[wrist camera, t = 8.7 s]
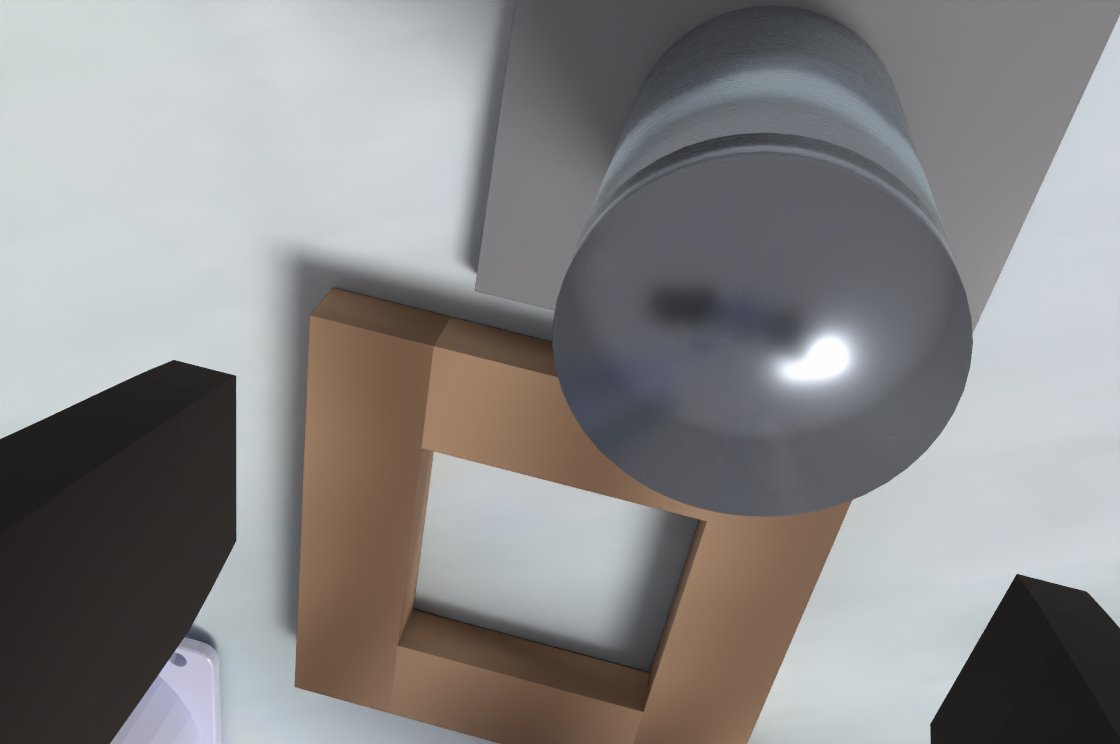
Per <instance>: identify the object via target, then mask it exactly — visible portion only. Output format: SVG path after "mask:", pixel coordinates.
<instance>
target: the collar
mask: <svg viewBox="0 0 1120 744" xmlns="http://www.w3.org/2000/svg"><path fill="white" fill-rule="evenodd" d="M434 451H435V452H439V453H443V454H446V455H450V456H454V457H458V458H462V459H466V460H470V461H474V462H478V463H481V464H485V465H489V466H493V467H497V468H501V469H505V470H509V471H513V472H517V473H520V474H524V475H528V476H532V477H536V478H540V479H544V480H548V481H552V482H555V483H559V484H563V485H567V486H571V487H575V488H579V489H583V490H587V491H591V492H594V493H598V494H602V495H606V496H610V497H614V498H618V499H622V500H626V501H630V502H633V503H637V504H641V505H645V506H649V507H653V508H657V509H661V510H665V511H668V512H672V513H676V514H680V515H684V516H688V517H692V518H696V519H699V522H698V525H697V528H696V532H695V535H694V538H693V541H692V544H691V547H690V550H689V553H688V556H687V559H686V562H685V565H684V568H683V571H682V574H681V577H680V580H679V584H678V587H677V590H676V593H675V596H674V599H673V602H672V605H671V608H670V611H669V614H668V617H667V620H666V623H665V626H664V629H663V632H662V636H661V639H660V642H659V645H658V648H657V651H656V654H655V657H654V660H653V663H652V666H651V669H650V672H649V673H647V672H644V671H640V670H636V669H633V668H629V667H625V666H621V665H618V664H614V663H610V662H606V661H603V660H599V659H595V658H591V657H588V656H584V655H580V654H577V653H573V652H569V651H565V650H562V649H558V648H554V647H550V646H547V645H543V644H539V643H535V642H532V641H528V640H524V639H520V638H517V637H513V636H509V635H506V634H502V633H498V632H494V631H491V630H487V629H483V628H479V627H476V626H472V625H468V624H464V623H461V622H457V621H453V620H450V619H446V618H442V617H438V616H435V615H431V614H427V613H423V612H420V611H416V610H413V607H414V599H415V591H416V584H417V576H418V568H419V560H420V553H421V545H422V537H423V530H424V522H425V514H426V506H427V499H428V491H429V483H430V475H431V468H432V460H433V452H434ZM851 501H852V500H850V501H848V502H845V503H843V504H840V505H836V506H833V507H829V508H826V509H822V510H819V511H813V512H808V513H802V514H797V515H787V516H773V517H757V516H739V515H731V514H724V513H718V512H713V511H709V510H705V509H700V508H696V507H693V506H690V505H687V504H684V503H682V502H679V501H676V500H673V499H671V498H669V497H667V496H664V495H662V494H660V493H658V492H656V491H654V490H652V489H650V488H648V487H647V486H645V485H643V484H642V483H640V482H638V481H637V480H635V479H633V478H632V477H630V476H629V475H628V474H626V473H625V472H624V471H623V470H621V469H620V468H619V467H617V466H616V465H615V464H613V463H612V462H611V461H610V460H609V459H608V458H607V457H606V456H605V455H604V454H603V453H602V452H601V451H600V450H599V449H598V448H597V447H596V446H595V445H594V443H593V442H592V441H591V440H590V438H589V437H588V436H587V435H586V433H585V432H584V431H583V430H582V428H581V426H580V425H579V423H578V421H577V420H576V418H575V417H574V415H573V413H572V412H571V410H570V408H569V405H568V403H567V401H566V399H565V396H564V394H563V392H562V389H561V386H560V382H559V379H558V375H557V372H556V368H555V361H554V353H553V342H550V341H546V340H542V339H538V338H534V337H530V336H526V335H522V334H518V333H514V332H510V331H506V330H502V329H498V328H493V327H489V326H485V325H481V324H477V323H473V322H469V321H465V320H461V319H457V318H453V317H449V316H445V315H441V314H437V313H433V312H429V311H425V310H421V309H417V308H413V307H409V306H405V305H401V304H396V303H392V302H388V301H384V300H380V299H376V298H372V297H368V296H364V295H360V294H356V293H352V292H348V291H344V290H340V289H336V288H332V289H331V291H330V292H329V293H328V294H327V295H326V297H325V298H324V299H323V300H322V301H321V303H320V304H319V305H318V306H317V307H316V309H315V310H314V311H313V312H312V313H311V315H310V324H309V349H308V374H307V398H306V423H305V447H304V472H303V497H302V521H301V546H300V571H299V595H298V620H297V645H296V669H295V687H297V688H300V689H304V690H308V691H311V692H315V693H318V694H322V695H326V696H329V697H333V698H337V699H340V700H344V701H348V702H351V703H355V704H358V705H362V706H366V707H369V708H373V709H377V710H380V711H384V712H388V713H391V714H395V715H398V716H402V717H406V718H409V719H413V720H417V721H420V722H424V723H428V724H431V725H435V726H438V727H442V728H446V729H449V730H453V731H457V732H460V733H464V734H468V735H471V736H475V737H478V738H482V739H486V740H489V741H493V742H497V743H500V744H747V743H748V740H749V738H750V736H751V733H752V731H753V729H754V726H755V724H756V722H757V720H758V717H759V715H760V713H761V710H762V708H763V706H764V703H765V701H766V699H767V696H768V694H769V692H770V689H771V687H772V685H773V682H774V680H775V678H776V675H777V673H778V671H779V668H780V666H781V664H782V661H783V659H784V657H785V655H786V652H787V650H788V648H789V645H790V643H791V641H792V638H793V636H794V634H795V631H796V629H797V627H798V624H799V622H800V620H801V617H802V615H803V613H804V610H805V608H806V606H807V603H808V601H809V599H810V596H811V594H812V592H813V589H814V587H815V585H816V583H817V580H818V578H819V576H820V573H821V571H822V569H823V566H824V564H825V562H826V559H827V557H828V555H829V552H830V550H831V548H832V545H833V543H834V541H835V538H836V536H837V534H838V531H839V529H840V527H841V524H842V522H843V520H844V518H845V515H846V513H847V511H848V508H849V506H850V504H851Z"/></svg>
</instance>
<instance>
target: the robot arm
mask: <svg viewBox="0 0 1120 744" xmlns="http://www.w3.org/2000/svg"><path fill="white" fill-rule="evenodd" d="M235 542H236V376H235V375H231V374H227V373H223V372H219V371H215V370H211V369H207V368H203V367H199V366H195V365H191V364H187V363H183V362H180V361H176V360H173V361H170V362H168V363H165V364H163V365H160V366H158V367H156V368H153V369H151V370H148V371H146V372H144V373H142V374H139V375H137V376H135V377H133V378H131V379H128V380H126V381H124V382H122V383H120V384H118V385H115V386H113V387H111V388H109V389H107V390H105V391H103V392H100V393H98V394H96V395H94V396H92V397H90V398H88V399H86V400H84V401H81V402H79V403H77V404H75V405H73V406H71V407H69V408H67V409H64V410H62V411H60V412H58V413H56V414H54V415H52V416H50V417H48V418H45V419H43V420H41V421H39V422H37V423H35V424H32V425H30V426H28V427H26V428H24V429H22V430H19V431H17V432H15V433H13V434H11V435H8V436H6V437H4V438H2V439H0V744H221V721H220V673H219V657H218V654H217V652H216V651H215V650H214V648H212V647H211V646H210V645H208V644H206V643H204V642H201V641H197V640H194V639H190V638H186V637H185V636H186V634H187V633H188V631H189V629H190V627H191V626H192V624H193V622H194V620H195V618H196V617H197V615H198V613H199V611H200V609H201V607H202V606H203V604H204V602H205V600H206V598H207V596H208V595H209V593H210V591H211V589H212V587H213V585H214V583H215V581H216V579H217V577H218V575H219V573H220V571H221V569H222V568H223V566H224V564H225V562H226V560H227V558H228V556H229V554H230V552H231V550H232V548H233V546H234V544H235ZM930 727H931V744H1120V628H1119V627H1118V626H1117V624H1116V623H1115V622H1114V621H1113V620H1112V619H1111V618H1110V617H1109V615H1108V614H1107V613H1106V612H1105V611H1104V610H1103V609H1102V608H1101V606H1100V605H1099V604H1098V603H1097V602H1096V601H1095V600H1094V599H1093V598H1092V597H1091V596H1090V595H1089V594H1088V593H1087V592H1086V591H1082V590H1078V589H1074V588H1070V587H1066V586H1062V585H1058V584H1054V583H1050V582H1046V581H1042V580H1038V579H1035V578H1031V577H1027V576H1023V575H1019V574H1017V575H1016V576H1015V578H1014V580H1013V582H1012V583H1011V585H1010V587H1009V589H1008V590H1007V592H1006V594H1005V596H1004V597H1003V599H1002V601H1001V602H1000V604H999V606H998V608H997V609H996V611H995V613H994V615H993V616H992V618H991V620H990V622H989V623H988V625H987V627H986V629H985V630H984V632H983V634H982V635H981V637H980V639H979V641H978V642H977V644H976V646H975V648H974V649H973V651H972V653H971V655H970V656H969V658H968V660H967V662H966V663H965V665H964V667H963V668H962V670H961V672H960V674H959V675H958V677H957V679H956V681H955V682H954V684H953V686H952V688H951V689H950V691H949V693H948V695H947V696H946V698H945V700H944V701H943V703H942V705H941V707H940V708H939V710H938V712H937V714H936V715H935V717H934V719H933V721H932V722H931V724H930Z"/></svg>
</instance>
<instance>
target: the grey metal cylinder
mask: <svg viewBox="0 0 1120 744" xmlns="http://www.w3.org/2000/svg"><path fill="white" fill-rule="evenodd" d="M972 345H973V338H972V319H971V314H970V309H969V305H968V300H967V295H966V292H965V289H964V286H963V283H962V280H961V277H960V274H959V271H958V268H957V266H956V263H955V260H954V257H953V254H952V251H951V248H950V245H949V242H948V239H947V236H946V233H945V231H944V228H943V225H942V222H941V219H940V216H939V213H938V210H937V207H936V204H935V201H934V199H933V196H932V193H931V190H930V187H929V184H928V181H927V178H926V175H925V172H924V169H923V167H922V164H921V161H920V158H919V155H918V152H917V149H916V146H915V143H914V140H913V137H912V135H911V132H910V129H909V126H908V123H907V120H906V117H905V114H904V111H903V108H902V105H901V103H900V100H899V97H898V94H897V91H896V89H895V86H894V84H893V81H892V79H891V77H890V75H889V73H888V71H887V70H886V68H885V66H884V64H883V63H882V61H881V60H880V59H879V58H878V56H877V55H876V54H875V52H874V51H873V50H872V49H871V48H870V47H869V46H868V45H867V44H866V43H865V42H864V41H863V40H862V39H861V38H860V37H859V36H858V35H856V34H855V33H853V32H852V31H851V30H849V29H848V28H846V27H845V26H843V25H842V24H840V23H838V22H836V21H834V20H832V19H830V18H828V17H826V16H823V15H820V14H817V13H814V12H812V11H809V10H804V9H799V8H794V7H787V6H758V7H749V8H744V9H740V10H735V11H731V12H728V13H725V14H722V15H720V16H717V17H714V18H712V19H710V20H708V21H706V22H704V23H702V24H700V25H698V26H696V27H695V28H694V29H692V30H691V31H689V32H688V33H686V34H685V35H683V36H682V37H681V38H680V39H678V40H677V41H676V42H675V43H674V44H673V45H672V46H671V47H669V48H668V49H667V50H666V52H665V53H664V54H663V55H662V56H661V57H660V58H659V60H658V61H657V62H656V63H655V65H654V66H653V68H652V69H651V71H650V72H649V74H648V75H647V77H646V79H645V81H644V83H643V85H642V87H641V89H640V91H639V93H638V95H637V98H636V100H635V103H634V105H633V108H632V110H631V113H630V115H629V118H628V120H627V123H626V125H625V128H624V130H623V133H622V135H621V138H620V140H619V143H618V145H617V147H616V150H615V152H614V155H613V157H612V160H611V162H610V165H609V167H608V170H607V172H606V175H605V177H604V180H603V182H602V185H601V187H600V190H599V192H598V195H597V197H596V200H595V202H594V205H593V207H592V210H591V212H590V215H589V217H588V220H587V222H586V225H585V227H584V230H583V232H582V235H581V237H580V240H579V242H578V245H577V247H576V250H575V252H574V254H573V257H572V259H571V262H570V264H569V267H568V269H567V272H566V274H565V277H564V280H563V283H562V286H561V289H560V292H559V295H558V298H557V302H556V308H555V314H554V320H553V353H554V361H555V368H556V372H557V375H558V379H559V382H560V386H561V389H562V392H563V394H564V396H565V399H566V401H567V403H568V405H569V408H570V410H571V412H572V413H573V415H574V417H575V418H576V420H577V421H578V423H579V425H580V426H581V428H582V430H583V431H584V432H585V433H586V435H587V436H588V437H589V438H590V440H591V441H592V442H593V443H594V445H595V446H596V447H597V448H598V449H599V450H600V451H601V452H602V453H603V454H604V455H605V456H606V457H607V458H608V459H609V460H610V461H611V462H612V463H613V464H615V465H616V466H617V467H619V468H620V469H621V470H623V471H624V472H625V473H626V474H628V475H629V476H630V477H632V478H633V479H635V480H637V481H638V482H640V483H642V484H643V485H645V486H647V487H648V488H650V489H652V490H654V491H656V492H658V493H660V494H662V495H664V496H667V497H669V498H671V499H673V500H676V501H679V502H682V503H684V504H687V505H690V506H693V507H696V508H700V509H705V510H709V511H713V512H718V513H724V514H731V515H739V516H757V517H773V516H787V515H797V514H802V513H808V512H813V511H819V510H822V509H826V508H829V507H833V506H836V505H840V504H843V503H845V502H848V501H850V500H853V499H855V498H858V497H860V496H862V495H865V494H867V493H869V492H871V491H872V490H874V489H876V488H878V487H880V486H882V485H883V484H885V483H887V482H888V481H890V480H891V479H893V478H894V477H895V476H897V475H898V474H900V473H901V472H903V471H904V470H905V469H907V468H908V467H909V466H910V465H911V464H912V463H913V462H915V461H916V460H917V459H918V458H919V457H920V456H921V455H922V454H923V453H924V452H925V451H926V450H927V449H928V448H929V447H930V445H931V444H932V443H933V442H934V441H935V440H936V438H937V437H938V436H939V435H940V434H941V432H942V431H943V429H944V427H945V426H946V424H947V423H948V421H949V420H950V418H951V416H952V415H953V413H954V411H955V409H956V407H957V404H958V402H959V400H960V398H961V395H962V393H963V391H964V388H965V384H966V380H967V377H968V373H969V369H970V363H971V354H972Z"/></svg>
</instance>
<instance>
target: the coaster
mask: <svg viewBox="0 0 1120 744" xmlns="http://www.w3.org/2000/svg"><path fill="white" fill-rule="evenodd" d="M758 6H787V7H794V8H799V9H804V10H809V11H812V12H814V13H817V14H820V15H823V16H826V17H828V18H830V19H832V20H834V21H836V22H838V23H840V24H842V25H843V26H845V27H846V28H848V29H849V30H851V31H852V32H853V33H855V34H856V35H858V36H859V37H860V38H861V39H862V40H863V41H864V42H865V43H866V44H867V45H868V46H869V47H870V48H871V49H872V50H873V51H874V52H875V54H876V55H877V56H878V58H879V59H880V60H881V61H882V63H883V64H884V66H885V68H886V70H887V71H888V73H889V75H890V77H891V79H892V81H893V84H894V86H895V89H896V91H897V94H898V97H899V100H900V103H901V105H902V108H903V111H904V114H905V117H906V120H907V123H908V126H909V129H910V132H911V135H912V137H913V140H914V143H915V146H916V149H917V152H918V155H919V158H920V161H921V164H922V167H923V169H924V172H925V175H926V178H927V181H928V184H929V187H930V190H931V193H932V196H933V199H934V201H935V204H936V207H937V210H938V213H939V216H940V219H941V222H942V225H943V228H944V231H945V233H946V236H947V239H948V242H949V245H950V248H951V251H952V254H953V257H954V260H955V263H956V266H957V268H958V271H959V274H960V277H961V280H962V283H963V286H964V289H965V292H966V295H967V300H968V305H969V309H970V314H971V319H972V334H973V331H974V329H975V327H976V325H977V323H978V321H979V318H980V316H981V314H982V312H983V310H984V308H985V305H986V303H987V301H988V299H989V297H990V295H991V292H992V290H993V288H994V286H995V284H996V282H997V279H998V277H999V275H1000V273H1001V271H1002V269H1003V266H1004V264H1005V262H1006V260H1007V258H1008V256H1009V253H1010V251H1011V249H1012V247H1013V245H1014V243H1015V241H1016V238H1017V236H1018V234H1019V232H1020V230H1021V228H1022V225H1023V223H1024V221H1025V219H1026V217H1027V215H1028V212H1029V210H1030V208H1031V206H1032V204H1033V202H1034V199H1035V197H1036V195H1037V193H1038V191H1039V189H1040V186H1041V184H1042V182H1043V180H1044V178H1045V176H1046V173H1047V171H1048V169H1049V167H1050V165H1051V163H1052V160H1053V158H1054V156H1055V154H1056V152H1057V150H1058V147H1059V145H1060V143H1061V141H1062V139H1063V137H1064V134H1065V132H1066V130H1067V128H1068V126H1069V124H1070V121H1071V119H1072V117H1073V115H1074V113H1075V111H1076V108H1077V106H1078V104H1079V102H1080V100H1081V98H1082V95H1083V93H1084V91H1085V89H1086V87H1087V85H1088V82H1089V80H1090V78H1091V76H1092V74H1093V72H1094V69H1095V67H1096V65H1097V63H1098V61H1099V59H1100V56H1101V54H1102V52H1103V50H1104V48H1105V46H1106V43H1107V41H1108V39H1109V37H1110V35H1111V33H1112V30H1113V28H1114V26H1115V24H1116V22H1117V20H1118V17H1119V15H1120V0H516V2H515V9H514V16H513V23H512V30H511V38H510V45H509V52H508V59H507V66H506V73H505V80H504V87H503V94H502V101H501V108H500V115H499V122H498V129H497V136H496V143H495V150H494V157H493V165H492V172H491V179H490V186H489V193H488V200H487V207H486V214H485V221H484V228H483V235H482V242H481V249H480V256H479V263H478V270H477V277H476V284H475V291H477V292H481V293H485V294H489V295H493V296H497V297H501V298H505V299H509V300H513V301H517V302H521V303H525V304H530V305H534V306H538V307H542V308H546V309H550V310H554V311H555V308H556V302H557V298H558V295H559V292H560V289H561V286H562V283H563V280H564V277H565V274H566V272H567V269H568V267H569V264H570V262H571V259H572V257H573V254H574V252H575V250H576V247H577V245H578V242H579V240H580V237H581V235H582V232H583V230H584V227H585V225H586V222H587V220H588V217H589V215H590V212H591V210H592V207H593V205H594V202H595V200H596V197H597V195H598V192H599V190H600V187H601V185H602V182H603V180H604V177H605V175H606V172H607V170H608V167H609V165H610V162H611V160H612V157H613V155H614V152H615V150H616V147H617V145H618V143H619V140H620V138H621V135H622V133H623V130H624V128H625V125H626V123H627V120H628V118H629V115H630V113H631V110H632V108H633V105H634V103H635V100H636V98H637V95H638V93H639V91H640V89H641V87H642V85H643V83H644V81H645V79H646V77H647V75H648V74H649V72H650V71H651V69H652V68H653V66H654V65H655V63H656V62H657V61H658V60H659V58H660V57H661V56H662V55H663V54H664V53H665V52H666V50H667V49H668V48H669V47H671V46H672V45H673V44H674V43H675V42H676V41H677V40H678V39H680V38H681V37H682V36H683V35H685V34H686V33H688V32H689V31H691V30H692V29H694V28H695V27H696V26H698V25H700V24H702V23H704V22H706V21H708V20H710V19H712V18H714V17H717V16H720V15H722V14H725V13H728V12H731V11H735V10H740V9H744V8H749V7H758Z"/></svg>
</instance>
